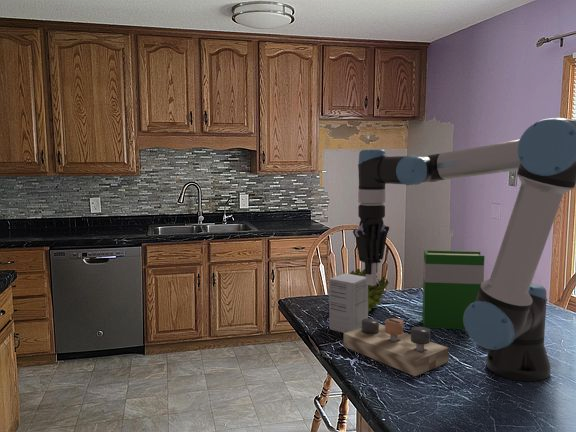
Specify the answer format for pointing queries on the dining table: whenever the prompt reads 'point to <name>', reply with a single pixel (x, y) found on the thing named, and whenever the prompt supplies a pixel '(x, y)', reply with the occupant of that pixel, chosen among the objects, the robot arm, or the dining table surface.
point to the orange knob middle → (394, 328)
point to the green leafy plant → (373, 289)
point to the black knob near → (420, 337)
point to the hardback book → (450, 286)
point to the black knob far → (370, 326)
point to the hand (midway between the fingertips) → (371, 284)
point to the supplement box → (347, 302)
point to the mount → (397, 351)
